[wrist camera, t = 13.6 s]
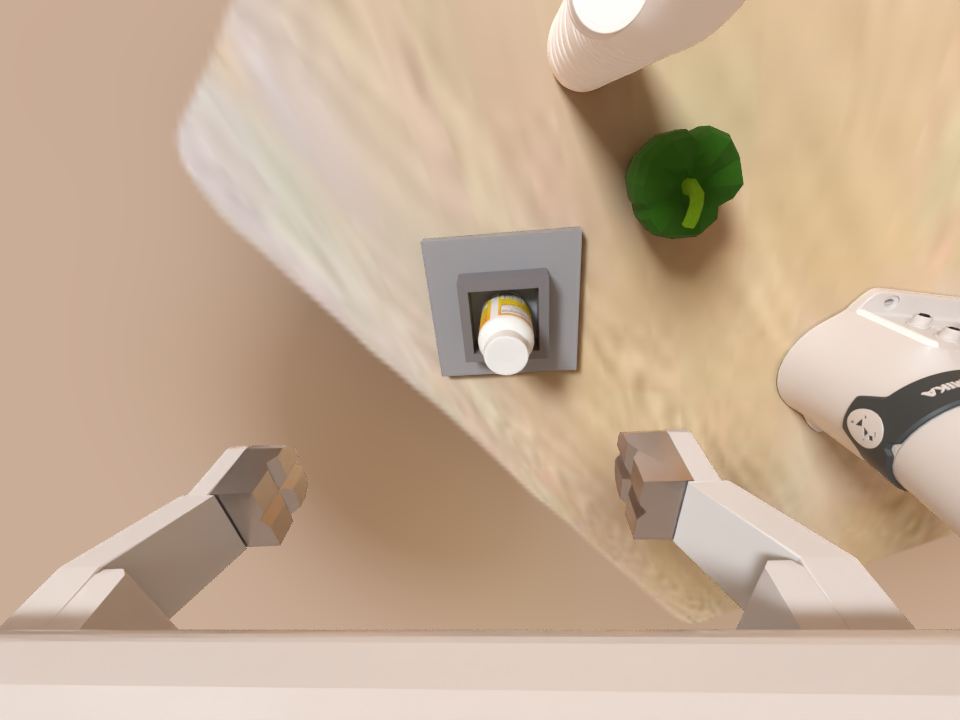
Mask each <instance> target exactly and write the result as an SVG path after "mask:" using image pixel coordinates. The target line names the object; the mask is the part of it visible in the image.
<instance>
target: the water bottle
mask: <svg viewBox="0 0 960 720" xmlns="http://www.w3.org/2000/svg"><path fill="white" fill-rule="evenodd" d="M744 1H745V0H563V3H562V5H561V7H560V9H559V10H558V13H557V15H556V17H555V19H554V21H553V23H552V26H551V29H550V32H549V37H548V45H547V53H548V60H549V65H550V68H551V70H552V72H553V74H554V76H555V77H556V79H557V80H558V81H559V82H560V83H561V84H562V85H563V86H564V87H566V88H568V89H570V90H572V91H576V92H588V91H592V90H595V89H598V88H600V87H602V86H604V85H606V84H608V83H611V82H613V81H615V80H618V79H620V78H622V77H624V76H627V75H629V74H631V73H634V72H636V71H638V70H640V69H641V68H643V67H645V66H648V65H650V64H652V63H654V62H656V61H659V60H661V59H663V58H665V57H668V56H670V55H672V54H675V53H678V52H681V51H683V50H686V49H688V48H690V47H692V46H694V45H696V44H698V43H699V42H701V41H703V40H704V39H706V38H707V37H709V36H710V35H711V34H713V33H714V32H715V31H717V30H718V29H719V28H720V27H721V26H722V25H723V24H724V23H725V22H727V21H728V20H729V19H730V17H731V16H732V15H733V14H734V13H735V12H736V11H737V10H738V9H739V8H740V7H741V6H742V4H743V3H744Z"/></svg>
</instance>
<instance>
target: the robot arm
mask: <svg viewBox="0 0 960 720" xmlns="http://www.w3.org/2000/svg"><path fill="white" fill-rule="evenodd" d="M886 300H887V301H886ZM885 301H886V302H885ZM777 387H778V391H779V394H780V396H781V398H782V399H783V401H784V402H785V403H786V404H787V405H789V406H790V407H791V408H793V409H795V410H797V411H798V412H800V413H801V414H802V415H803V416H804V418H805V420H806V422H807V424H808V425H809V426H810V427H811V428H813V429H814V430H815V431H817V432H826V433H827V434H828V435H830V436H831V437H832V438H834V439H835V440H836V441H838V442H839V443H840V444H842V445H843V446H844V447H846V448H847V449H849V450H850V451H851V452H853V453H854V454H855V455H857V456H858V457H859V458H861V459H862V460H864V461H866V462H868V463H869V464H870V465H871V466H872V467H873V468H874V469H876V472H877V473H878V474H880V475H881V476H882V477H883V478H885V479H886V480H888V481H890V482H891V483H892V484H893V485H895V486H896V487H898V488H899V489H902V490H904V491H907V492H910V493H911V494H912V495H913V496H914V497H915V498H916V499H918V500H919V501H920V502H921V503H922V504H923V505H924V506H926V507H927V508H928V509H929V510H930V511H931V512H932V513H934V514H935V515H936V516H937V517H938V518H939V519H940V520H942V521H943V522H944V523H945V524H946V525H947V526H948V527H950V528H951V529H952V530H953V531H954V532H955V533H956V534H958V535H959V536H960V297H955V296H946V295H938V294H930V293H922V292H913V291H905V290H897V289H888V288H873V289H870V290H868V291H867V292H865V293H864V294H862V295H861V296H860V297H859V298H858V299H856V300H855V301H854V302H853V303H852V304H851V305H850V306H849V307H848V308H847V309H845V310H844V311H842V312H841V313H839V314H837V315H835V316H833V317H832V318H830V319H828V320H826V321H824V322H822V323H820V324H819V325H817V326H816V327H814V328H813V329H811V330H810V331H809V332H807V333H806V334H805V335H804V336H803V337H801V338H800V339H799V340H798V341H797V342H796V343H795V345H794V346H793V347H792V348H791V349H790V351H789V352H788V353H787V355H786V356H785V358H784V360H783V362H782V364H781V366H780V369H779V372H778V377H777ZM617 446H618V448H619V451H620V455H619V456H618V457H617V458H616V460H615V480H616V485H617V489H618V493H619V496H620V498H621V499H622V500H623V501H624V502H626V503H627V506H626V517H627V520H628V523H629V526H630V529H631V532H632V535H633V538H634V539H665V540H673V542H674V543H675V544H676V545H677V546H678V547H679V548H680V549H681V550H682V551H683V552H684V553H685V554H687V555H688V556H689V557H690V558H691V559H692V560H693V561H694V562H695V563H696V564H697V565H698V566H699V567H700V568H701V569H702V570H703V571H704V572H705V573H706V574H707V575H708V576H709V577H710V578H711V579H712V580H713V581H714V582H715V583H716V584H717V585H718V586H719V587H720V588H721V589H722V590H723V591H724V592H725V593H726V594H727V595H728V596H729V597H731V598H732V599H733V600H734V601H735V602H736V603H737V604H738V605H739V606H740V607H741V608H742V609H743V610H744V613H743V615H742V618H741V620H740V622H739V624H738V626H737V629H736V630H178V629H177V627H176V626H175V625H174V624H173V623H172V622H171V621H170V620H169V619H170V618H171V617H172V616H173V615H175V614H176V613H177V612H178V611H179V610H180V609H181V608H182V607H183V606H184V605H186V604H187V603H188V602H189V601H190V600H191V599H192V598H193V597H194V596H196V594H198V592H200V591H201V590H202V589H203V588H204V587H205V586H206V585H208V583H210V582H211V581H212V580H213V579H214V578H215V577H216V576H217V575H219V573H221V572H222V571H223V570H224V569H225V568H226V567H227V566H228V565H230V563H232V562H233V561H234V560H235V559H236V558H237V557H238V556H239V555H241V554H242V553H243V552H244V551H245V550H246V549H247V548H246V547H254V546H256V547H257V546H278V545H281V543H282V541H283V539H284V538H285V536H286V534H287V532H288V530H289V528H290V526H291V524H292V522H293V519H292V515H291V514H292V513H293V512H294V511H296V510H297V509H298V508H300V507H301V505H302V503H303V501H304V499H305V497H306V493H307V488H308V481H307V475H306V473H305V470H304V469H303V468H302V467H300V466H299V465H298V464H296V461H297V459H298V454H297V452H296V450H295V448H294V447H292V446H289V445H255V446H233V447H231V448H229V449H227V450H226V451H225V452H224V453H223V455H222V456H221V457H220V458H219V459H218V460H217V462H216V463H215V464H214V465H213V466H212V467H211V469H210V470H209V471H208V472H207V473H206V474H205V475H204V477H203V478H202V479H201V480H200V481H199V482H198V484H197V485H196V486H195V487H194V488H193V489H192V490H191V492H190V493H189V494H188V495H187V496H180V497H178V498H177V499H175V500H173V501H172V502H170V503H168V504H167V505H165V506H163V507H161V508H160V509H158V510H156V511H155V512H153V513H151V514H150V515H148V516H146V517H145V518H143V519H141V520H140V521H138V522H136V523H135V524H133V525H131V526H130V527H128V528H126V529H124V530H123V531H121V532H119V533H118V534H116V535H114V536H112V537H111V538H109V539H107V540H106V541H104V542H102V543H101V544H99V545H97V546H96V547H94V548H92V549H91V550H89V551H87V552H85V553H84V554H82V555H81V556H79V557H77V558H75V559H74V560H72V561H70V562H68V563H67V564H65V565H63V566H62V567H60V568H59V569H58V570H57V571H56V572H55V573H54V574H53V575H52V576H51V577H50V578H49V579H48V580H47V581H46V582H45V583H44V584H43V585H42V586H41V587H40V588H39V589H38V590H37V591H36V592H35V593H34V594H33V595H32V596H31V597H30V598H29V599H28V600H27V601H26V602H25V603H24V604H23V605H22V606H20V607H19V608H18V609H17V611H15V613H13V614H12V615H11V616H10V617H9V618H8V619H7V620H6V621H5V622H4V623H3V625H1V626H0V720H960V630H916V629H915V628H914V627H913V625H912V624H911V623H910V622H909V621H908V620H907V618H906V617H905V616H904V615H903V613H902V612H901V611H900V610H899V609H898V607H897V606H896V605H895V604H894V603H893V602H892V600H891V599H890V598H889V597H888V596H887V594H886V593H885V592H884V591H883V590H882V588H881V587H880V586H879V585H878V584H877V582H876V581H875V580H874V579H873V578H872V576H871V575H870V574H869V573H868V572H867V570H866V569H865V568H864V567H863V566H862V564H861V563H860V562H859V561H858V560H857V558H855V557H854V556H852V555H850V554H849V553H847V552H846V551H844V550H842V549H841V548H839V547H837V546H836V545H834V544H832V543H831V542H829V541H827V540H826V539H824V538H823V537H821V536H819V535H818V534H816V533H814V532H813V531H811V530H809V529H808V528H806V527H805V526H803V525H801V524H800V523H798V522H796V521H795V520H793V519H791V518H790V517H788V516H786V515H785V514H783V513H782V512H780V511H778V510H777V509H775V508H773V507H772V506H770V505H768V504H767V503H765V502H763V501H762V500H760V499H759V498H757V497H755V496H754V495H752V494H750V493H749V492H747V491H745V490H744V489H742V488H741V487H739V486H737V485H736V484H734V483H732V482H731V481H729V480H727V481H722V480H721V478H720V477H719V475H718V474H717V472H716V471H715V469H714V468H713V466H712V465H711V463H710V462H709V460H708V458H707V457H706V455H705V454H704V452H703V451H702V449H701V448H700V446H699V445H698V443H697V442H696V440H695V438H694V437H693V435H692V434H691V432H690V431H689V430H687V429H670V430H663V431H662V430H657V431H636V432H620V434H619V436H618V443H617Z"/></svg>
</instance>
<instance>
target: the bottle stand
mask: <svg viewBox="0 0 960 720" xmlns="http://www.w3.org/2000/svg"><path fill="white" fill-rule="evenodd" d="M581 246H582V229H581V228H580V227H569V228H557V229H544V230H531V231H519V232H506V233H493V234H481V235H468V236H455V237H443V238H430V239H423V240H422V242H421V247H422V254H423V260H424V266H425V272H426V279H427V285H428V291H429V297H430V304H431V310H432V316H433V323H434V329H435V335H436V341H437V348H438V354H439V360H440V367H441V373H442V376H460V375H480V374H497V373H495V372H493V371H492V370H490V369H489V368H488V366H487V365H486V363H485V360H484V356H483V355H482V353H481V351H480V349H479V345H478V336H479V329H480V321H481V314H482V309H483V306H484V304H485V302H486V301H487V300H488V299H489V298H490V297H491V296H492V295H494V294H496V293H499V292H504V291H509V292H514V293H516V294H518V295H520V296H521V297H523V298H524V299H525V300H526V302H527V303H528V305H529V308H530V312H531V319H532V325H533V332H534V346H533V350H532V352H531V353H530V355H529V358H528V362H527V364H526V365H525V367H524V368H523V369H522V370H521V371H519V372H518V373H520V372H540V371H560V370H576V366H577V342H578V318H579V294H580V270H581Z"/></svg>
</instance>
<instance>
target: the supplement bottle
mask: <svg viewBox="0 0 960 720" xmlns="http://www.w3.org/2000/svg"><path fill="white" fill-rule="evenodd" d="M478 345H479V349H480V351H481V353H482V355H483V356H484V360H485V363H486V365H487V366H488V368H489V369H490V370H492V371H493V372H495V373H497V374H500V375H512V374H515V373H518V372H519V371H521V370H522V369H523V368H524V367H525V365H526V364H527V362H528V358H529V355H530V353H531V352H532V350H533V346H534V332H533V325H532V319H531V312H530V308H529V305H528V303H527V302H526V300H525V299H524V298H523V297H521V296H520V295H518V294H516V293H514V292H509V291H504V292H499V293H496V294H494V295H492V296H491V297H490V298H489V299H488V300H487V301H486V302H485V304H484V306H483V309H482V314H481V321H480V329H479V336H478Z"/></svg>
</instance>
